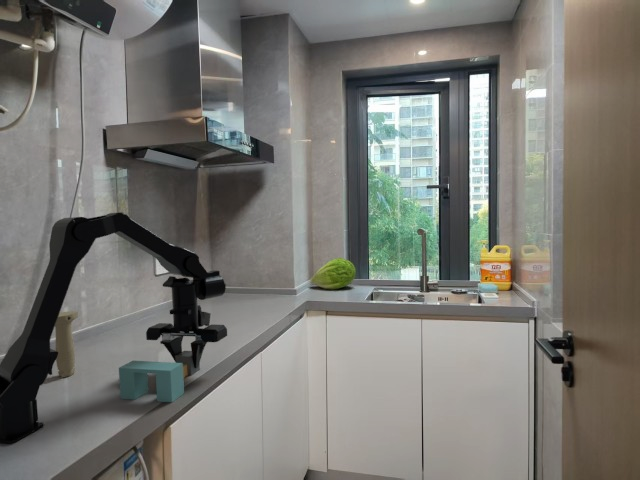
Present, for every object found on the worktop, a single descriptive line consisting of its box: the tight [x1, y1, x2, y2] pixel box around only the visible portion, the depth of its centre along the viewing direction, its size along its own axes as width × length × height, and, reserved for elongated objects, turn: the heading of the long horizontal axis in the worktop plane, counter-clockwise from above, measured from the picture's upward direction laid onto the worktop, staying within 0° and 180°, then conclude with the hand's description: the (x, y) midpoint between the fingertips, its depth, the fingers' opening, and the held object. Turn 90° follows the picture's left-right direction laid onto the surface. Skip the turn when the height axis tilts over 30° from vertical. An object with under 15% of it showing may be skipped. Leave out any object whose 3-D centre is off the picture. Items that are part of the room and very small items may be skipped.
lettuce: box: [310, 257, 357, 290], centre depth 218 cm, size 15×25×16 cm
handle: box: [54, 310, 79, 378], centre depth 104 cm, size 5×6×15 cm
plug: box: [174, 350, 201, 379], centre depth 99 cm, size 14×4×4 cm, turn 167°
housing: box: [118, 360, 185, 403], centre depth 89 cm, size 4×12×6 cm, turn 77°
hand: (188, 367), depth 103 cm, fingers closed on plug, 4 cm apart
